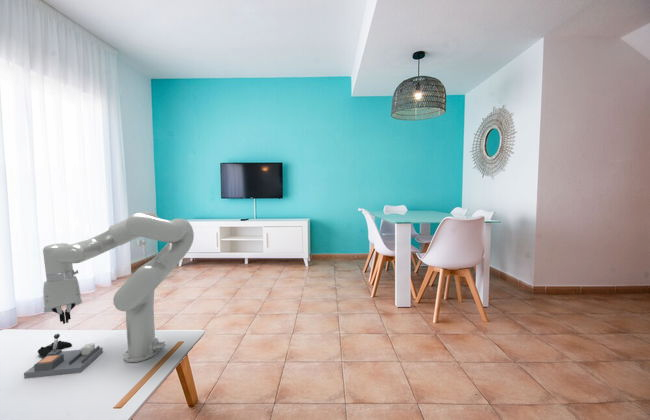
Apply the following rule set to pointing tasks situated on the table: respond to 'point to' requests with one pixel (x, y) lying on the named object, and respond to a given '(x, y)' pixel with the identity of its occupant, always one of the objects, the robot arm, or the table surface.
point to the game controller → (49, 348)
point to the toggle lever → (55, 341)
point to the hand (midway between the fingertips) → (65, 322)
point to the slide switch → (87, 348)
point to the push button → (49, 359)
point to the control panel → (63, 363)
